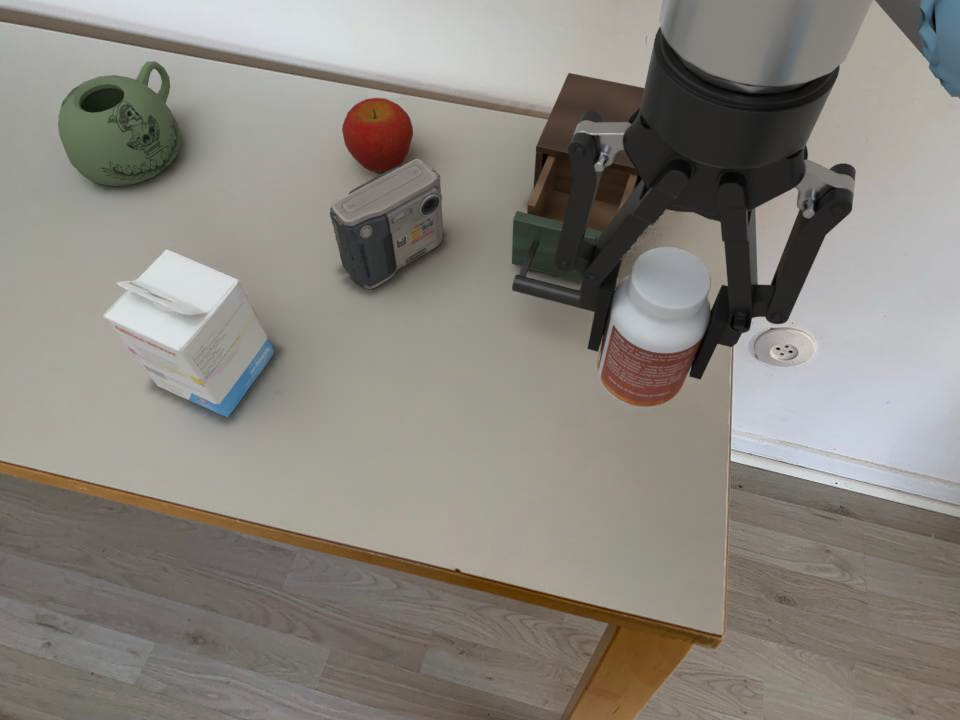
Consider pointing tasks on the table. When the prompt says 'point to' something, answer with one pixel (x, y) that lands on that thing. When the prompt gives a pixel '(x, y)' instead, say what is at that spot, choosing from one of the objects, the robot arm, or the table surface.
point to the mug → (119, 128)
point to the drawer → (560, 226)
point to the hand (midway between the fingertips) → (647, 347)
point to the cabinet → (575, 100)
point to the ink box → (192, 331)
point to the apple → (378, 134)
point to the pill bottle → (654, 328)
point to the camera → (388, 222)
